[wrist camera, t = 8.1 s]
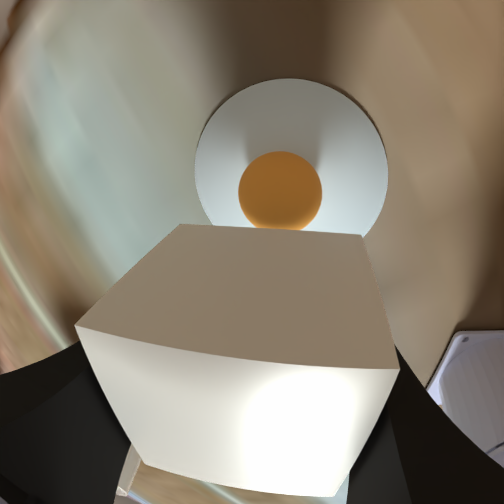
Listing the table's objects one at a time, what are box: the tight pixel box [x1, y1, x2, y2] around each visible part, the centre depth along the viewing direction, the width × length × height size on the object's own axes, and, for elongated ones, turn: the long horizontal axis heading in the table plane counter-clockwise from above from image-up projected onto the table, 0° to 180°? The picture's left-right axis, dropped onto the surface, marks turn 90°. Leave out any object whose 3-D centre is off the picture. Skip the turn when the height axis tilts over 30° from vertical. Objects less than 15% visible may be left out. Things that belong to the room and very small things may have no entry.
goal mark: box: [195, 78, 388, 238], centre depth 15 cm, size 10×10×1 cm
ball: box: [238, 151, 322, 230], centre depth 14 cm, size 4×4×4 cm
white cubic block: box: [74, 224, 400, 497], centre depth 8 cm, size 6×6×6 cm
